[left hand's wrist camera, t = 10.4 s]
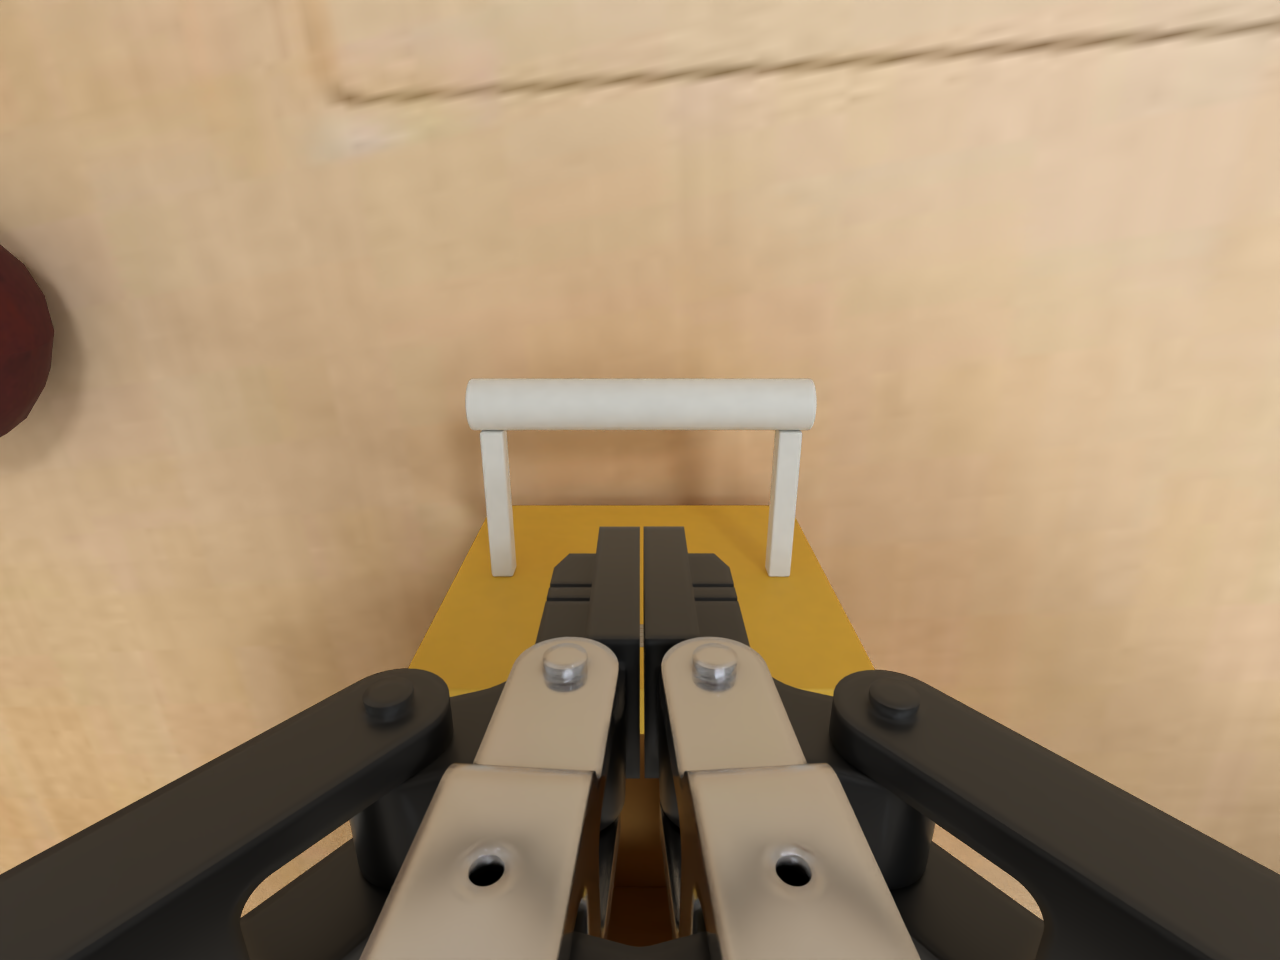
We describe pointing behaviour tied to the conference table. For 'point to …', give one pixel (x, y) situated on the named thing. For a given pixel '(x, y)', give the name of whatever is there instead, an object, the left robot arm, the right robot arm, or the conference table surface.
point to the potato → (21, 341)
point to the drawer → (544, 535)
